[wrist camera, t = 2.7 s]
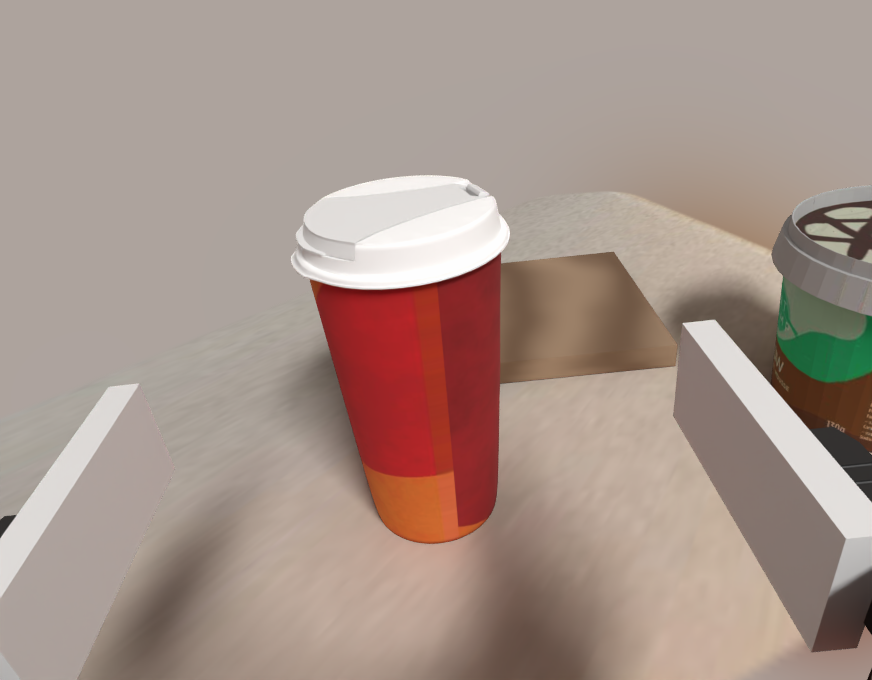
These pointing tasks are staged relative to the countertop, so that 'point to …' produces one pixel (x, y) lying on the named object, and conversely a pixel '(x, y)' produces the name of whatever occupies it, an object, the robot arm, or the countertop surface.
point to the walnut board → (577, 320)
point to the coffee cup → (414, 342)
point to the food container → (827, 312)
